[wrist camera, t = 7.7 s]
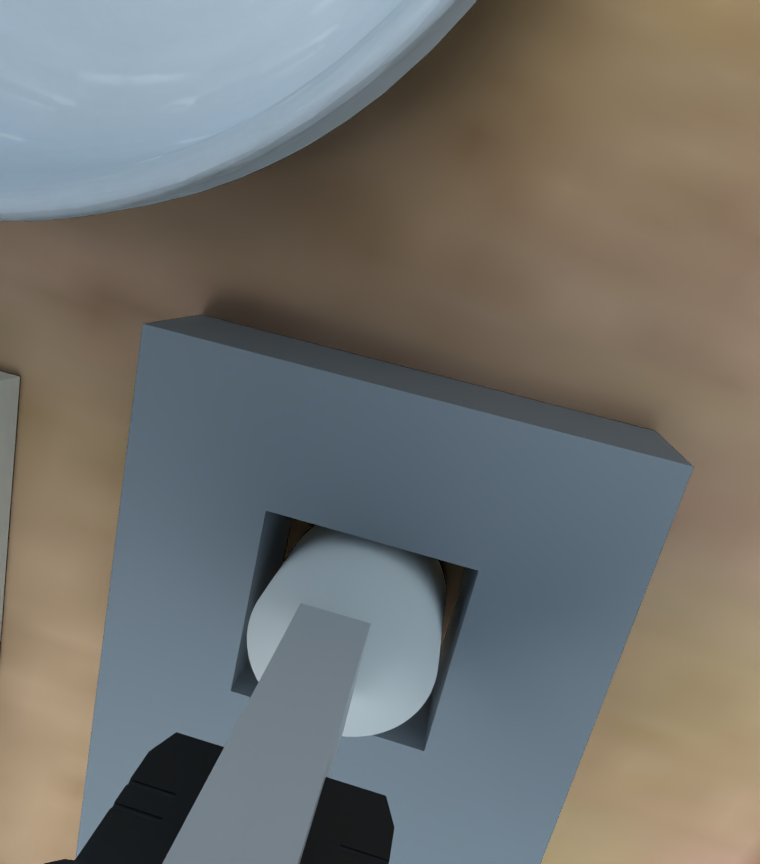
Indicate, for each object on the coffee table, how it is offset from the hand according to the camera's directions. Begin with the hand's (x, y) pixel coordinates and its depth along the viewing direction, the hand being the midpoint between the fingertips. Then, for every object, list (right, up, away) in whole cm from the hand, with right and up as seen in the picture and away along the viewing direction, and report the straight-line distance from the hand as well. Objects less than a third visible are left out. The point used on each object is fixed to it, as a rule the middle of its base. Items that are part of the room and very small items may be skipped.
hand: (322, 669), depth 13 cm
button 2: (+1, +1, +4) cm, 4 cm away
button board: (-1, -9, +7) cm, 11 cm away
